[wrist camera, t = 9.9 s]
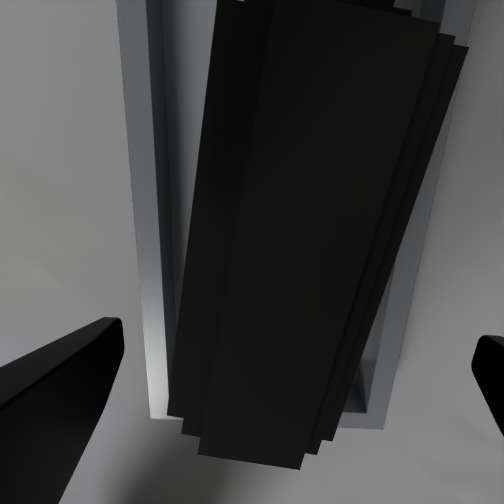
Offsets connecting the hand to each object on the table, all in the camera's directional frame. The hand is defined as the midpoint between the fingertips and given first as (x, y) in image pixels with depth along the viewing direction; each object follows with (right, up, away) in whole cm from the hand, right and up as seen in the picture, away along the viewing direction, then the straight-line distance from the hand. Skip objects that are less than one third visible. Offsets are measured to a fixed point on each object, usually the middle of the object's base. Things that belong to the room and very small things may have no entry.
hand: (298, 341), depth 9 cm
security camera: (0, +4, +12) cm, 12 cm away
